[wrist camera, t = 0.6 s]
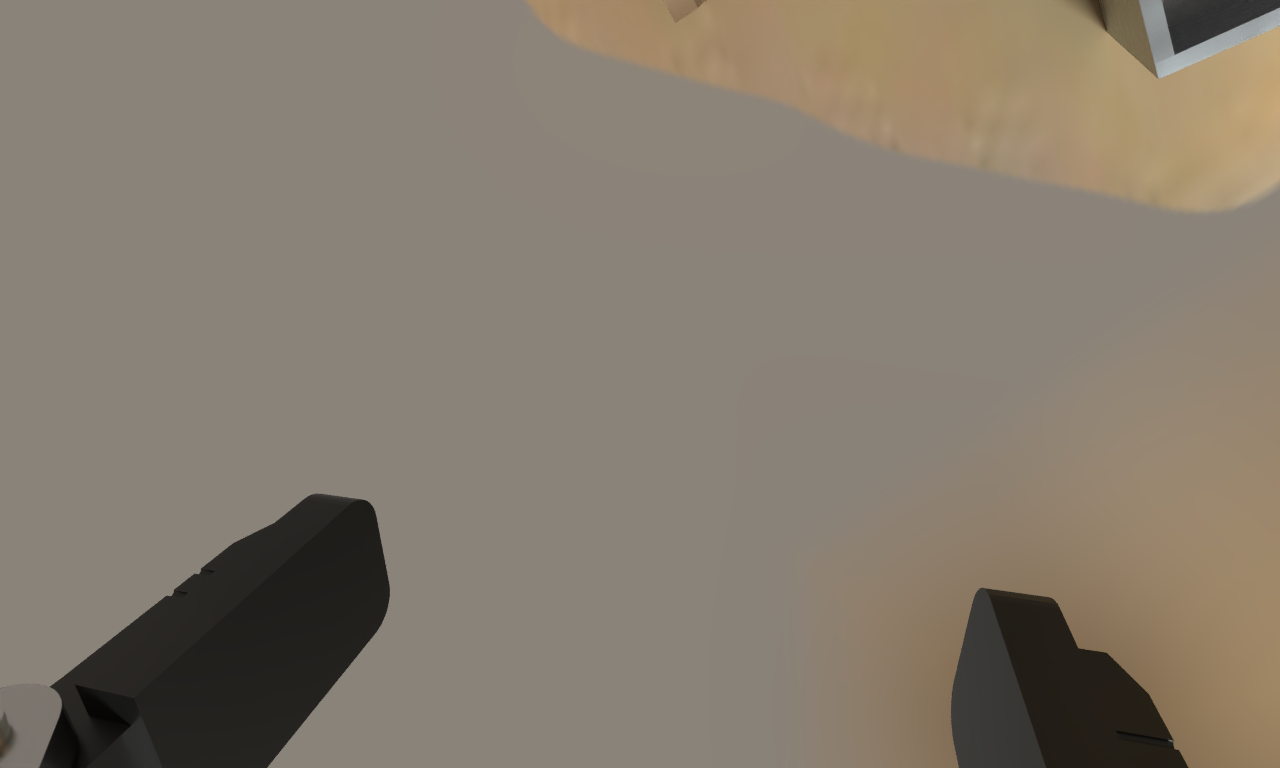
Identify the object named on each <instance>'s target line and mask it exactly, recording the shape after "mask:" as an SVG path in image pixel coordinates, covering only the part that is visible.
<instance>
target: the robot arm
mask: <svg viewBox="0 0 1280 768" xmlns="http://www.w3.org/2000/svg"><path fill="white" fill-rule="evenodd" d="M389 597H390V587H389V581H388V575H387V570H386V565H385V559H384V554H383V549H382V544H381V539H380V533H379V528H378V523H377V518H376V514H375V510H374V508H373V506H372V505H371V504H370V503H369V502H368V501H366V500H361V499H354V498H347V497H339V496H332V495H325V494H313V495H310V496H308V497H307V498H305V499H304V500H302V501H301V502H300V503H299V504H298V505H296V506H295V507H294V508H293V509H291V510H290V511H289V512H288V513H286V514H285V515H284V516H283V517H281V518H280V519H279V520H278V521H276V522H275V523H273V524H271V525H269V526H267V527H265V528H264V529H261V530H259V531H257V532H255V533H253V534H251V535H249V536H247V537H245V538H243V539H241V540H239V541H237V542H235V543H233V544H232V545H230V546H229V547H228V548H227V549H225V550H224V551H223V552H222V553H220V554H219V555H218V556H216V557H215V558H214V559H213V560H212V561H210V562H209V563H208V564H206V565H205V566H204V567H203V568H201V572H200V574H194V575H192V576H191V577H190V578H188V579H187V580H186V581H185V582H183V583H182V584H181V585H180V586H178V587H177V588H176V589H175V590H174V593H173V595H172V596H166V597H164V598H163V599H162V600H161V601H159V602H158V603H157V604H155V605H154V606H153V607H152V608H150V609H149V610H148V611H146V612H145V613H144V614H143V615H141V616H140V617H139V618H138V619H136V620H135V621H134V622H133V623H131V624H130V625H129V626H127V627H126V628H125V629H124V630H122V631H121V632H120V633H118V634H117V635H116V636H115V637H113V638H112V639H111V640H110V641H108V642H107V643H106V644H104V645H103V646H102V647H101V648H99V649H98V650H97V651H96V652H94V653H93V654H92V655H90V656H89V657H88V658H87V659H85V660H84V661H83V662H81V663H80V664H79V665H78V666H76V667H75V668H74V669H73V670H71V671H70V672H69V673H68V674H66V675H65V676H64V677H62V678H61V679H60V680H58V681H57V682H56V683H54V684H53V685H52V686H50V687H48V686H45V685H40V684H19V685H12V686H7V687H3V688H0V768H267V767H268V766H269V764H270V763H271V762H272V761H273V760H274V758H275V757H276V756H277V755H278V753H279V752H280V751H281V750H282V748H283V747H284V746H285V745H286V743H287V742H288V741H289V740H290V739H291V737H292V736H293V735H294V734H295V732H296V731H297V730H298V729H299V727H300V726H301V725H302V724H303V722H304V721H305V720H306V719H307V717H308V716H309V715H310V714H311V712H312V711H313V710H314V709H315V708H316V706H317V705H318V704H319V702H320V701H321V700H322V699H323V698H324V696H325V695H326V694H327V693H328V691H329V690H330V689H331V688H332V686H333V685H334V684H335V683H336V681H337V680H338V679H339V678H340V676H341V675H342V674H343V673H344V672H345V670H346V669H347V668H348V667H349V665H350V664H351V663H352V662H353V660H354V659H355V658H356V657H357V656H358V654H359V653H360V652H361V650H362V649H363V648H364V647H365V646H366V644H367V643H368V642H369V641H370V639H371V638H372V637H373V636H374V634H375V633H376V632H377V630H378V629H379V627H380V626H381V624H382V622H383V620H384V617H385V614H386V612H387V608H388V603H389ZM951 719H952V720H951V721H952V733H953V740H954V746H955V750H956V755H957V760H958V765H959V768H1188V766H1187V764H1186V762H1185V761H1184V759H1183V757H1182V755H1181V753H1180V751H1179V750H1175V749H1174V746H1173V742H1174V740H1173V738H1172V736H1171V735H1170V733H1169V731H1168V729H1167V727H1166V725H1165V723H1164V722H1163V720H1162V718H1161V716H1160V714H1159V713H1158V711H1157V709H1156V707H1155V705H1154V703H1153V701H1152V699H1151V698H1150V696H1149V694H1148V693H1147V692H1146V691H1145V690H1144V689H1143V688H1142V687H1141V686H1140V685H1139V684H1138V683H1137V682H1136V681H1135V680H1134V679H1133V678H1132V677H1131V676H1130V675H1129V674H1128V673H1127V672H1126V671H1125V670H1124V669H1123V668H1121V666H1119V664H1117V662H1116V661H1114V660H1113V659H1112V658H1111V657H1110V656H1109V655H1108V654H1107V653H1104V652H1098V651H1091V650H1085V649H1078V647H1077V645H1076V642H1075V640H1074V638H1073V636H1072V634H1071V632H1070V630H1069V627H1068V625H1067V623H1066V621H1065V618H1064V617H1063V614H1062V612H1061V610H1060V608H1059V606H1058V604H1057V603H1056V601H1055V600H1054V599H1052V598H1049V597H1043V596H1036V595H1028V594H1022V593H1014V592H1007V591H1000V590H992V589H986V588H980V589H979V590H978V591H977V593H976V594H975V597H974V600H973V604H972V608H971V612H970V616H969V620H968V624H967V628H966V633H965V637H964V641H963V646H962V650H961V654H960V658H959V662H958V666H957V671H956V675H955V679H954V684H953V691H952V701H951Z"/></svg>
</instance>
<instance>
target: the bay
mask: <svg viewBox="0 0 1280 768" xmlns="http://www.w3.org/2000/svg"><path fill="white" fill-rule="evenodd" d="M663 1H664V2H665V4H666V6H667V8H668V10H669V12H670V14H671V15H672V17H673V19H674V21H675V23H676V22H678V21H679V20H681V19H682V18H684V17H685V16H686V15H688V14H689V13H691V12H692V11H694V10H695V9H697V8H698V7H699V6H700V5H701V4H702V3H703V2H705V1H706V0H663Z"/></svg>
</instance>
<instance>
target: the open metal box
mask: <svg viewBox="0 0 1280 768" xmlns="http://www.w3.org/2000/svg"><path fill="white" fill-rule="evenodd" d="M1099 4H1100V8H1101V11H1102V15H1103V18H1104V22H1105V26H1106V29H1107V33H1108V34H1110V35H1111V36H1112V37H1113V38H1114V39H1115V40H1116V41H1117V42H1118V43H1119V44H1121V45H1122V46H1123V47H1124V48H1125V49H1126V50H1127V51H1128V52H1129V53H1130V54H1132V55H1133V56H1134V57H1135V58H1136V59H1137V60H1138V61H1139V62H1140V63H1141V64H1143V65H1144V66H1145V67H1146V68H1147V69H1148V70H1149V71H1150V72H1151V73H1152V74H1154V75H1155V76H1156V77H1157V78H1158V79H1160V78H1162V77H1164V76H1167V75H1169V74H1171V73H1174V72H1176V71H1178V70H1180V69H1183V68H1185V67H1187V66H1189V65H1192V64H1194V63H1196V62H1199V61H1201V60H1203V59H1205V58H1208V57H1210V56H1212V55H1215V54H1217V53H1219V52H1221V51H1224V50H1226V49H1228V48H1230V47H1233V46H1235V45H1237V44H1240V43H1242V42H1244V41H1246V40H1249V39H1251V38H1253V37H1255V36H1258V35H1260V34H1262V33H1265V32H1267V31H1269V30H1271V29H1274V28H1276V27H1278V26H1280V0H1099Z"/></svg>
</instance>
